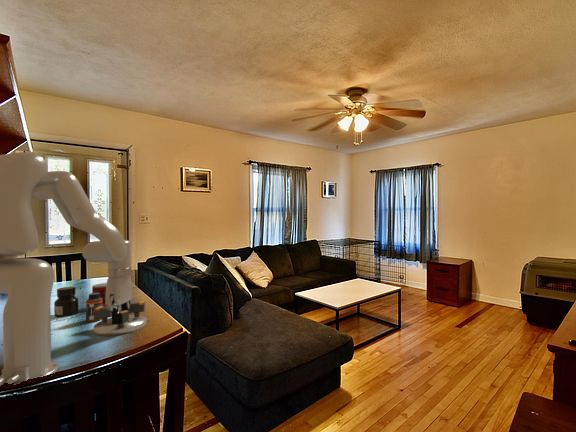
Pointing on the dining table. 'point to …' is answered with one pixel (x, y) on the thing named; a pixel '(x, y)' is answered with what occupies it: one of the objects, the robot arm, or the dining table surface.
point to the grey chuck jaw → (124, 317)
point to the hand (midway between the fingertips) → (120, 321)
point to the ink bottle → (66, 302)
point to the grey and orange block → (137, 308)
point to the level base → (114, 330)
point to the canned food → (100, 291)
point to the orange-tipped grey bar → (102, 313)
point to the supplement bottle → (93, 306)
